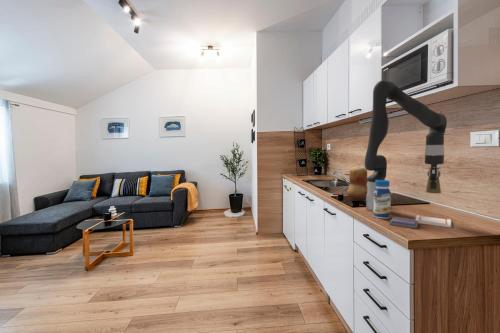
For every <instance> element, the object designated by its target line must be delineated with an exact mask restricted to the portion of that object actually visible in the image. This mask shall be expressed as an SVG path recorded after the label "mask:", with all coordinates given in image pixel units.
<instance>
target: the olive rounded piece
mask: <svg viewBox="0 0 500 333" xmlns="http://www.w3.org/2000/svg"><path fill="white" fill-rule="evenodd" d="M426 174H427V177H428V179H427V183H426V189H425V192H426V193H428V194H441V193H442V191H441V190H442V189H441V183H440V177H441V171H440V170H439V172H438V177H437V182H436V190H435V189H430V184H431V182H430V177H429V170H427V173H426ZM432 179H435V177H432Z"/></svg>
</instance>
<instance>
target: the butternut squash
mask: <svg viewBox="0 0 500 333" xmlns="http://www.w3.org/2000/svg"><path fill="white" fill-rule="evenodd" d="M348 178H349V186H348V188H347V192H346V194H347V197H348V198H349V200H351V201H353V202H357V201H360V202H359V203H361V202H363V201H366V194H367V178H368V170H367V169H366V168H365V166H362V165H360V166H358V165H357V166H352V167H351V168H350V170H349V176H348Z"/></svg>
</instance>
